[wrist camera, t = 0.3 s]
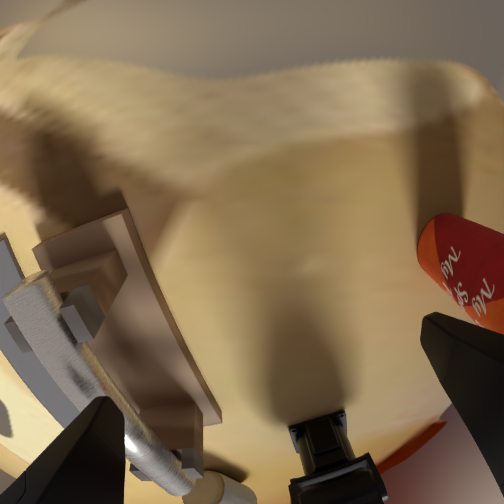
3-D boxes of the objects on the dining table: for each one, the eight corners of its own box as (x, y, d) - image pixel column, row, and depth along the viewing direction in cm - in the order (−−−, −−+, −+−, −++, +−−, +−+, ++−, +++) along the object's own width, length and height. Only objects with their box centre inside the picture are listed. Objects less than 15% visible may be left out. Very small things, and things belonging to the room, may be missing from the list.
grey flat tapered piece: (129, 431, 27) (129, 435, 27) (72, 433, 27) (71, 435, 27) (7, 237, 18) (3, 239, 18) (-42, 265, 18) (-45, 267, 18)
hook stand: (221, 411, 27) (226, 484, 19) (150, 422, 27) (141, 489, 19) (128, 208, 19) (74, 258, 11) (41, 242, 19) (-24, 296, 11)
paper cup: (391, 248, 22) (517, 358, 9) (448, 181, 20) (589, 242, 7) (429, 299, 25) (523, 396, 12) (478, 241, 23) (584, 311, 10)
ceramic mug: (221, 461, 31) (223, 512, 24) (255, 479, 34) (261, 523, 27) (162, 476, 33) (158, 520, 25) (198, 493, 36) (199, 532, 28)
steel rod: (195, 467, 21) (195, 495, 18) (164, 469, 21) (162, 496, 18) (57, 264, 13) (29, 293, 10) (21, 278, 13) (-7, 305, 10)
